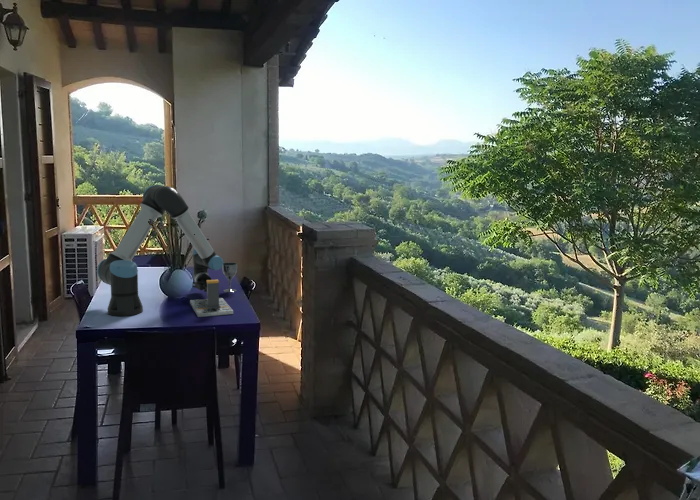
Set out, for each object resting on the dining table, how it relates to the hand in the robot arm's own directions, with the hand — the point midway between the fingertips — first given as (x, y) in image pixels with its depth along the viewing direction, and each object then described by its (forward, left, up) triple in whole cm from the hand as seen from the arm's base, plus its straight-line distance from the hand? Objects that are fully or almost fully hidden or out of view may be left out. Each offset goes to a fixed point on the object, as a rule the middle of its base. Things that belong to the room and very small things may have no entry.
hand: (210, 290), depth 272 cm
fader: (0, -6, -7) cm, 9 cm away
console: (0, 0, -9) cm, 9 cm away
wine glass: (+16, +34, -9) cm, 39 cm away
